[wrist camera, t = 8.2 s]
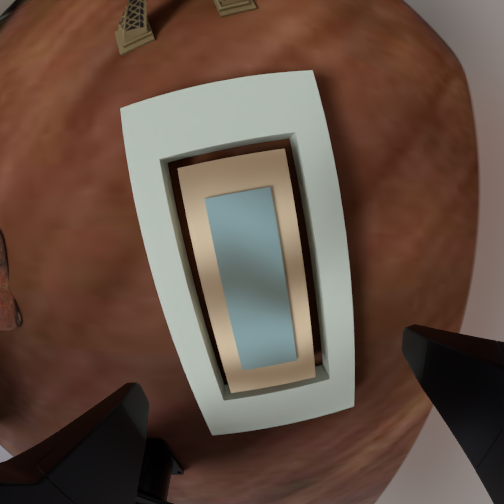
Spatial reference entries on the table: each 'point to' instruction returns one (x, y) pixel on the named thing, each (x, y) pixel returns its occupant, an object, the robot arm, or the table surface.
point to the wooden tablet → (7, 296)
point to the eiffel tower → (139, 30)
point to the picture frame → (251, 267)
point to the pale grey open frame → (316, 220)
